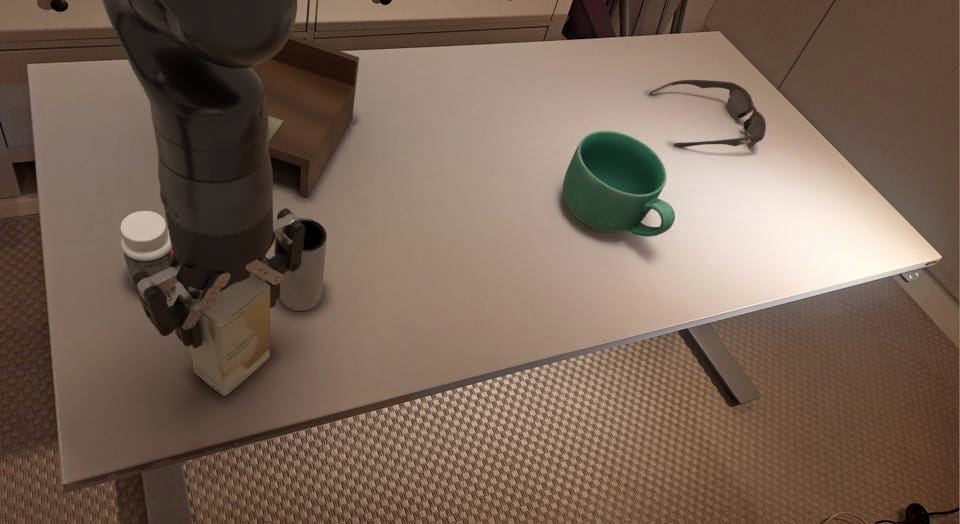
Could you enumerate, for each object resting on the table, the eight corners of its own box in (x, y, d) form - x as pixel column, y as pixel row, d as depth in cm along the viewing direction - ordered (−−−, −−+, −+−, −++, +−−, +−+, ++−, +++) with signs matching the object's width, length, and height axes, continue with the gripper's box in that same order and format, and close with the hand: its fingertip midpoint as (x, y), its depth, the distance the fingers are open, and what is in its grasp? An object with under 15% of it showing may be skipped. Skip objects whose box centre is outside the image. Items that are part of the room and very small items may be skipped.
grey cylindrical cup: (293, 318, 71) (295, 258, 63) (271, 289, 73) (270, 227, 65) (329, 300, 73) (335, 240, 66) (307, 273, 75) (310, 211, 67)
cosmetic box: (225, 398, 64) (216, 329, 54) (192, 372, 64) (178, 300, 55) (273, 355, 68) (273, 284, 58) (242, 331, 68) (236, 257, 59)
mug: (537, 190, 93) (559, 139, 86) (601, 171, 100) (626, 122, 93) (609, 276, 86) (639, 228, 79) (673, 249, 92) (706, 202, 85)
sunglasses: (763, 159, 112) (777, 137, 108) (672, 159, 109) (682, 136, 105) (728, 98, 122) (739, 76, 118) (643, 97, 119) (652, 74, 115)
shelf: (307, 198, 82) (310, 133, 74) (167, 153, 81) (156, 83, 74) (352, 120, 94) (359, 57, 86) (230, 80, 93) (226, 12, 85)
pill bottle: (186, 286, 70) (177, 235, 64) (139, 301, 68) (125, 250, 62) (171, 255, 72) (161, 202, 66) (124, 268, 70) (110, 215, 64)
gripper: (147, 270, 42) (176, 392, 55) (331, 189, 51) (320, 311, 63) (92, 198, 45) (132, 330, 57) (275, 132, 53) (276, 260, 66)
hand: (230, 319), depth 60 cm, fingers closed on cosmetic box, 7 cm apart
